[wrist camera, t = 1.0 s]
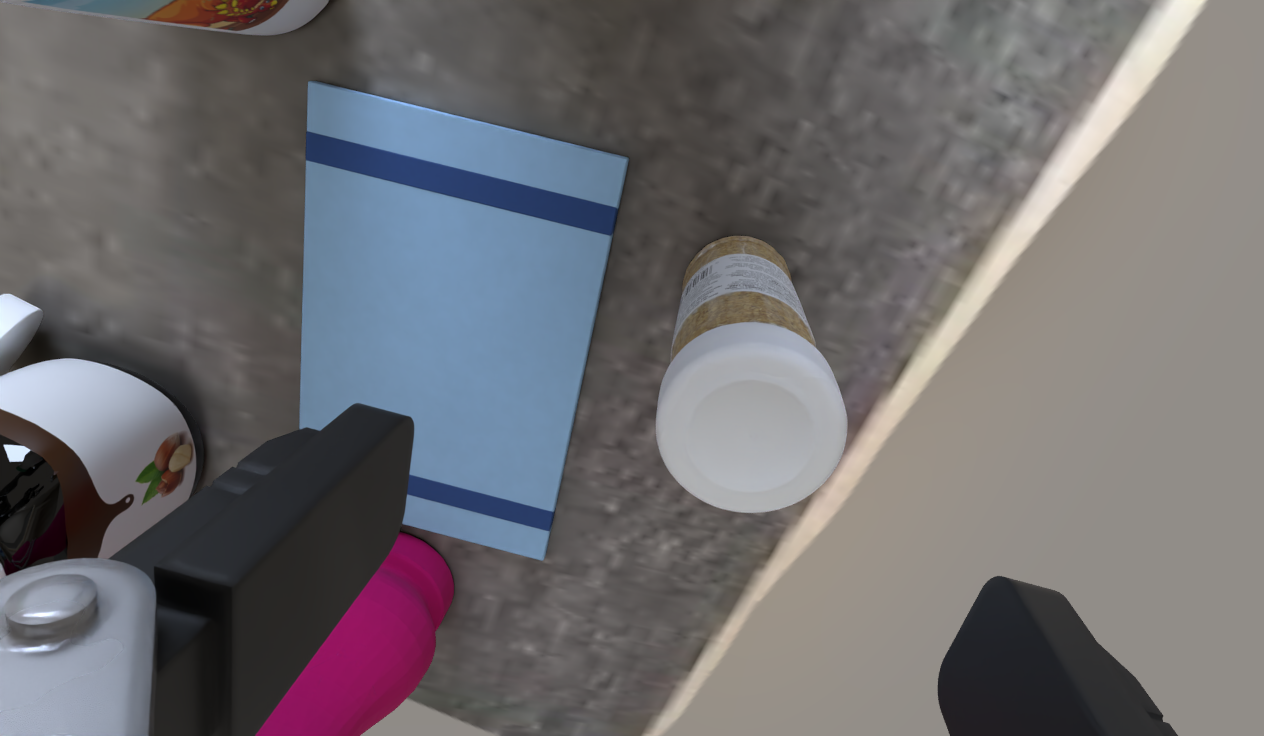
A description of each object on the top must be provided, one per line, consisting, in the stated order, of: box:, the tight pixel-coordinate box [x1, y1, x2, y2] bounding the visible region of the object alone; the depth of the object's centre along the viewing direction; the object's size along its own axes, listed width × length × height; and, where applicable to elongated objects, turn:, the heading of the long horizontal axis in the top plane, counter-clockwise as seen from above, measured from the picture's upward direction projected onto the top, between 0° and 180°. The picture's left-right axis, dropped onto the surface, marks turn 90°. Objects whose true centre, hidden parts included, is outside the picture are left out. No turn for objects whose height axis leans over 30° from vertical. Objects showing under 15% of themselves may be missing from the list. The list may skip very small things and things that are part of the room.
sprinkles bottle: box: [656, 236, 847, 513], centre depth 22 cm, size 5×5×13 cm
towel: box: [299, 81, 629, 561], centre depth 31 cm, size 20×13×1 cm, turn 168°
